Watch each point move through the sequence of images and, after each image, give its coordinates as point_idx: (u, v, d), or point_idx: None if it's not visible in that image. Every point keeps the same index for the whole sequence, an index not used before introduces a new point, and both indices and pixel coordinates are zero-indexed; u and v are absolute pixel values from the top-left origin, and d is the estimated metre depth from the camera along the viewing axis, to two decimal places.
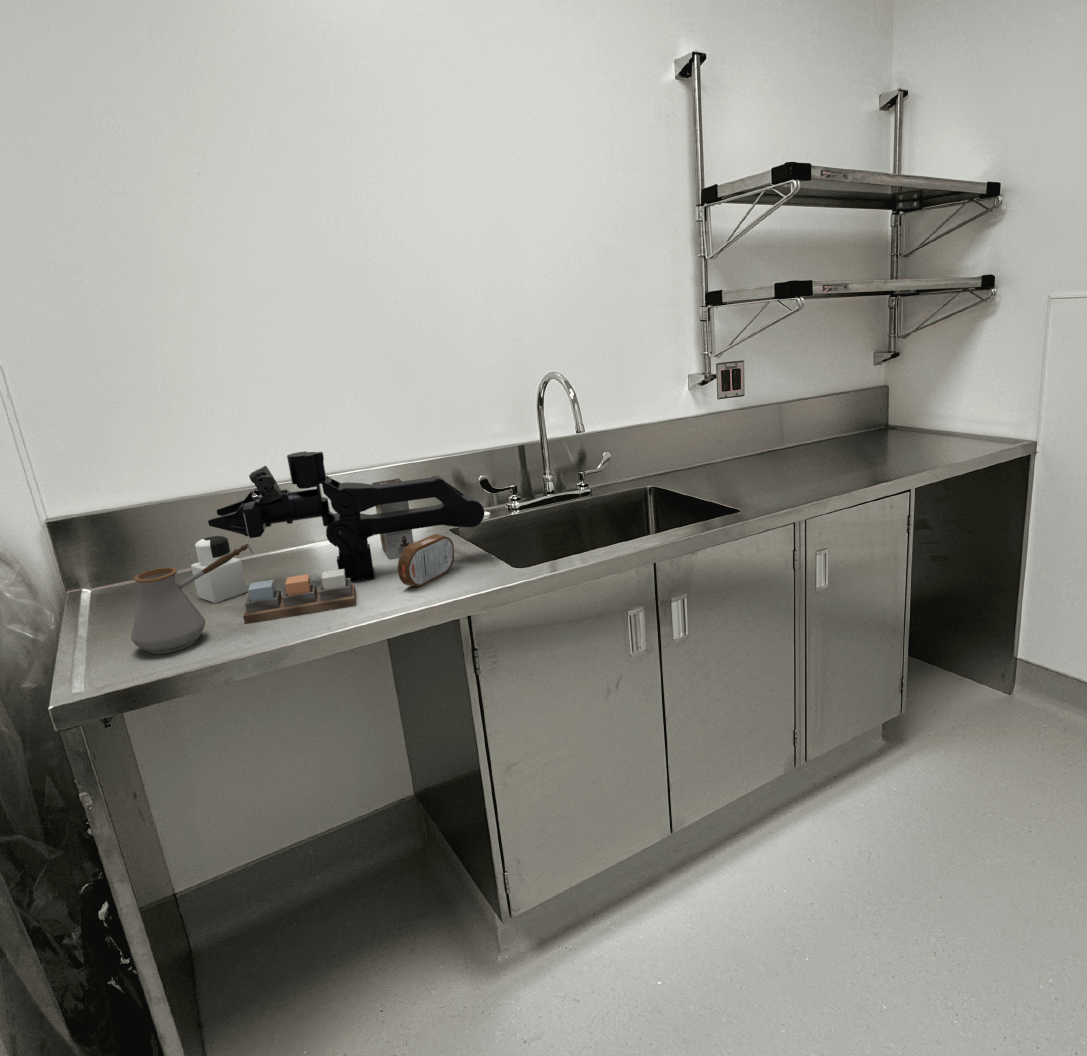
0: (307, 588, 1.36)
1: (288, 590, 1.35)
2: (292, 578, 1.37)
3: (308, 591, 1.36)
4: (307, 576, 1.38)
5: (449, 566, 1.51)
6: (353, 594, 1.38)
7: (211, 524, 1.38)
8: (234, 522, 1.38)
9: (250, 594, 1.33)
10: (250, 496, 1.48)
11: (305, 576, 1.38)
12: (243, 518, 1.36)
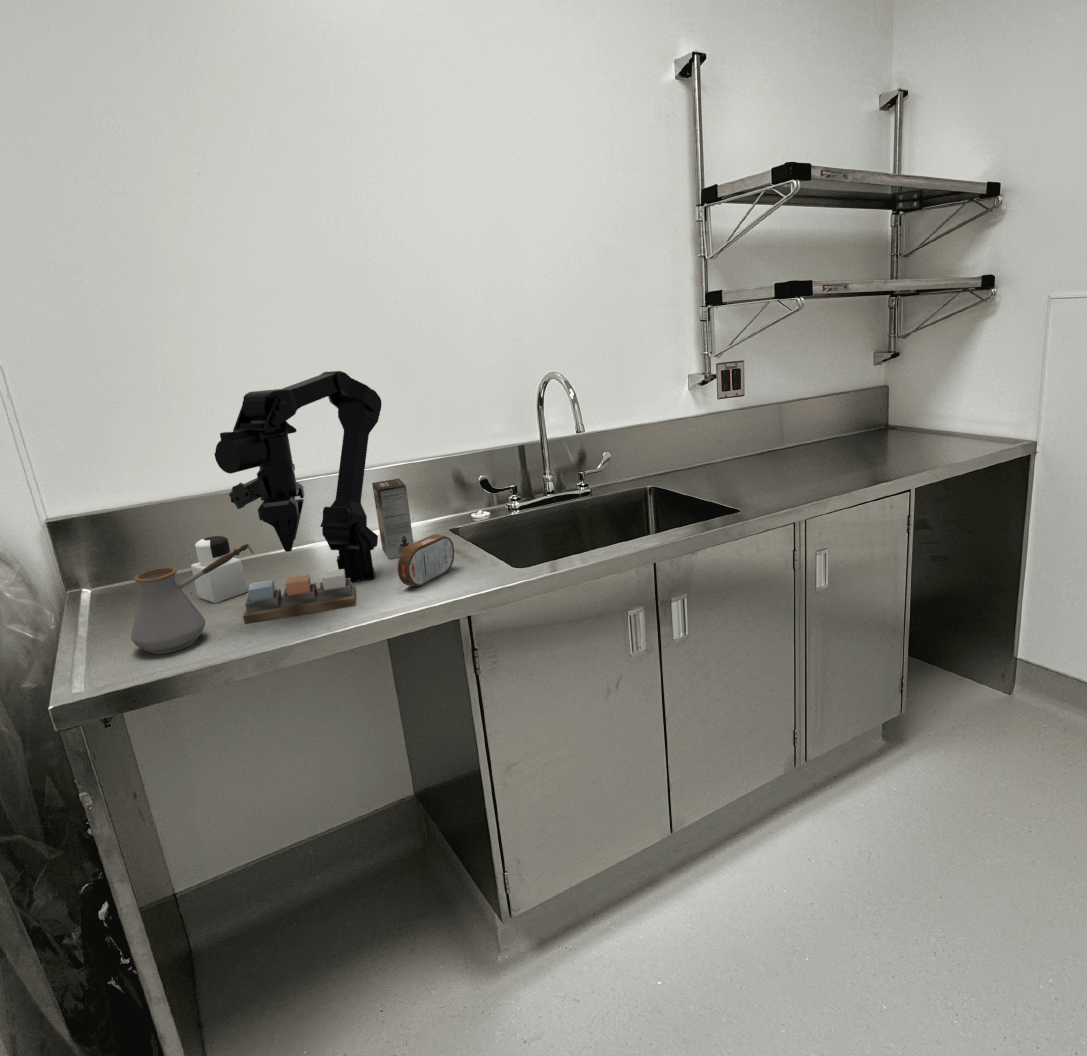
0: (307, 588, 1.36)
1: (288, 590, 1.35)
2: (292, 578, 1.37)
3: (308, 591, 1.36)
4: (307, 576, 1.38)
5: (449, 566, 1.51)
6: (353, 594, 1.38)
7: (289, 548, 1.31)
8: (285, 527, 1.29)
9: (250, 594, 1.33)
10: None
11: (305, 576, 1.38)
12: (275, 519, 1.26)
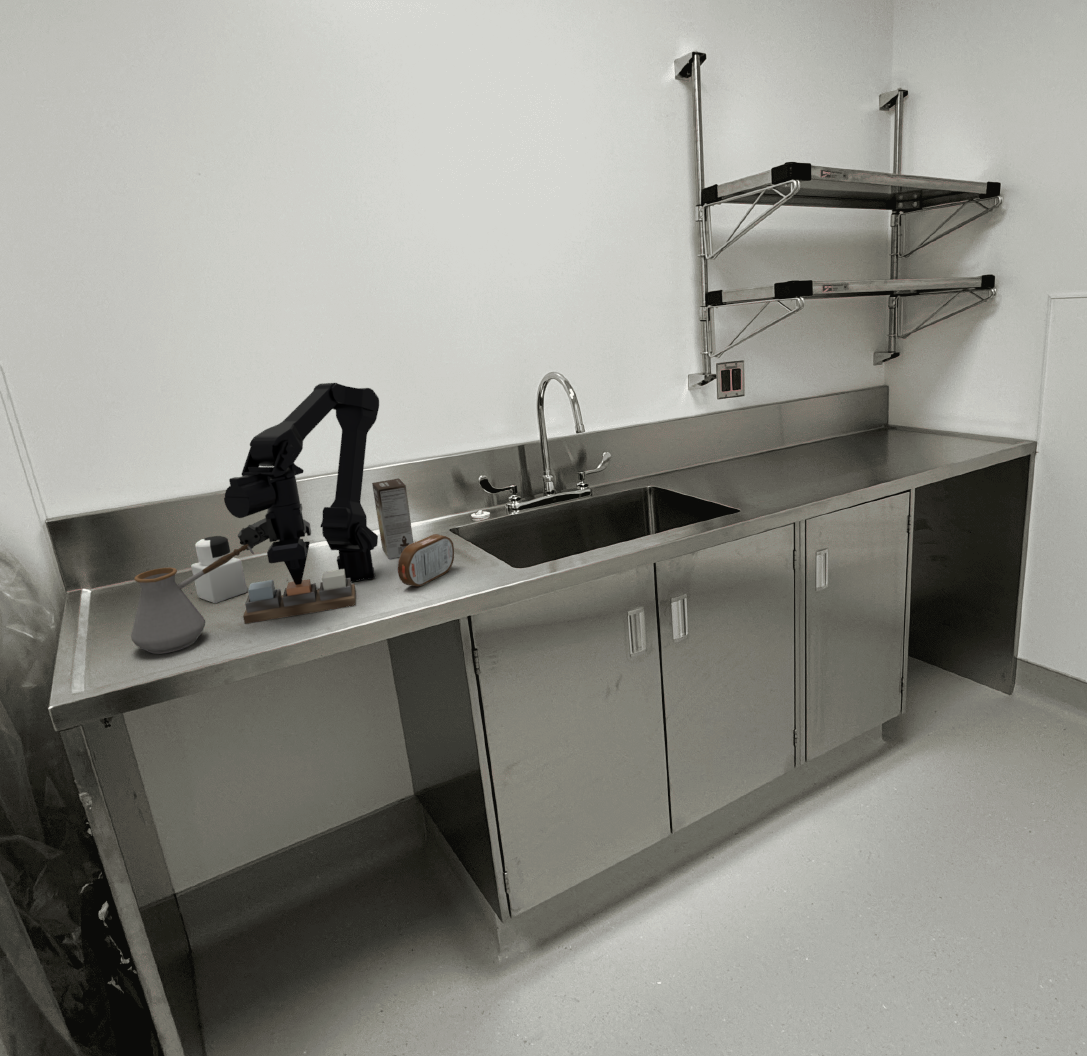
0: None
1: (289, 595, 1.35)
2: (293, 583, 1.38)
3: None
4: (308, 581, 1.38)
5: (449, 566, 1.51)
6: (353, 594, 1.38)
7: (299, 582, 1.36)
8: (295, 561, 1.34)
9: (250, 594, 1.33)
10: None
11: (306, 581, 1.38)
12: None
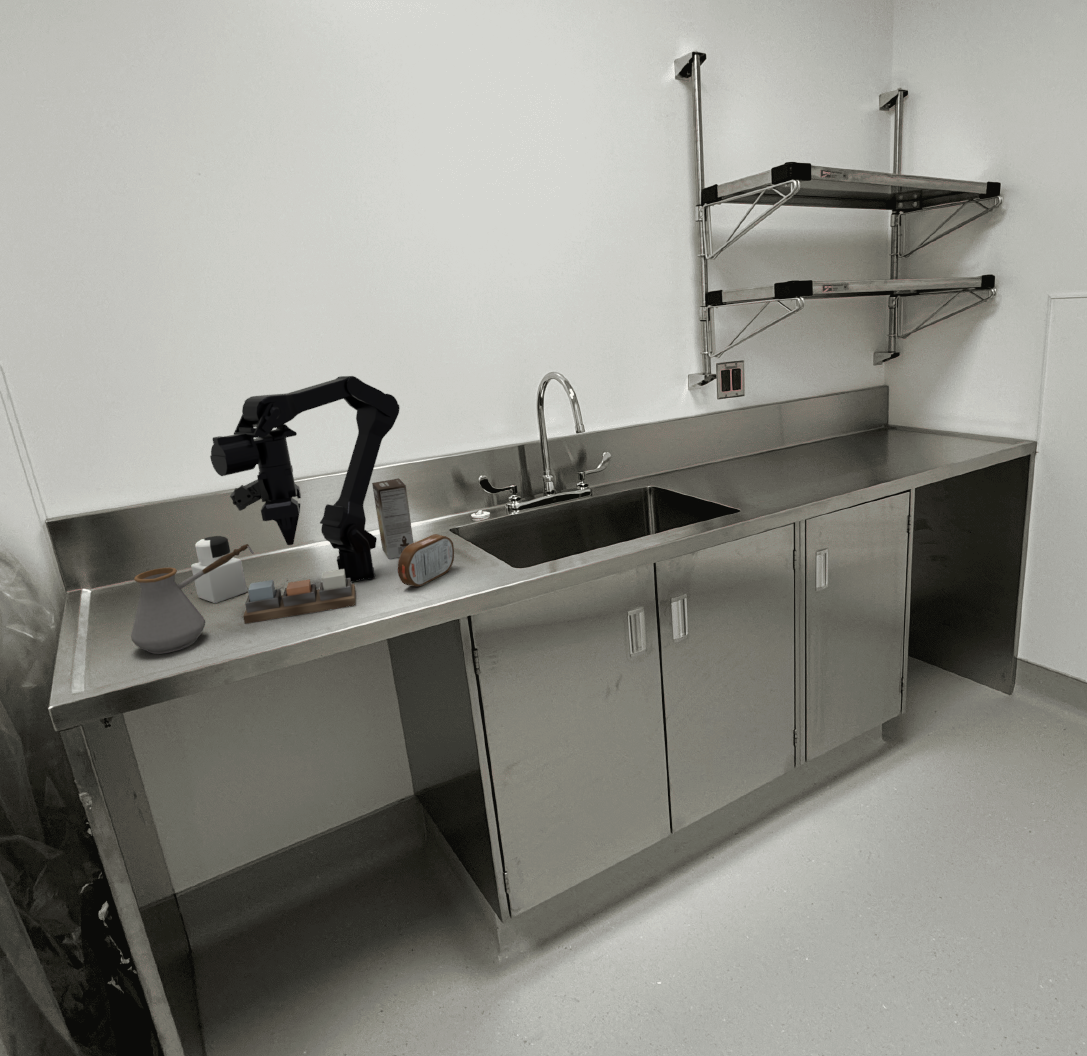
0: None
1: (289, 595, 1.35)
2: (293, 583, 1.38)
3: None
4: (308, 581, 1.38)
5: (449, 566, 1.51)
6: (353, 594, 1.38)
7: (291, 542, 1.39)
8: (287, 522, 1.37)
9: (250, 594, 1.33)
10: None
11: (306, 581, 1.38)
12: None
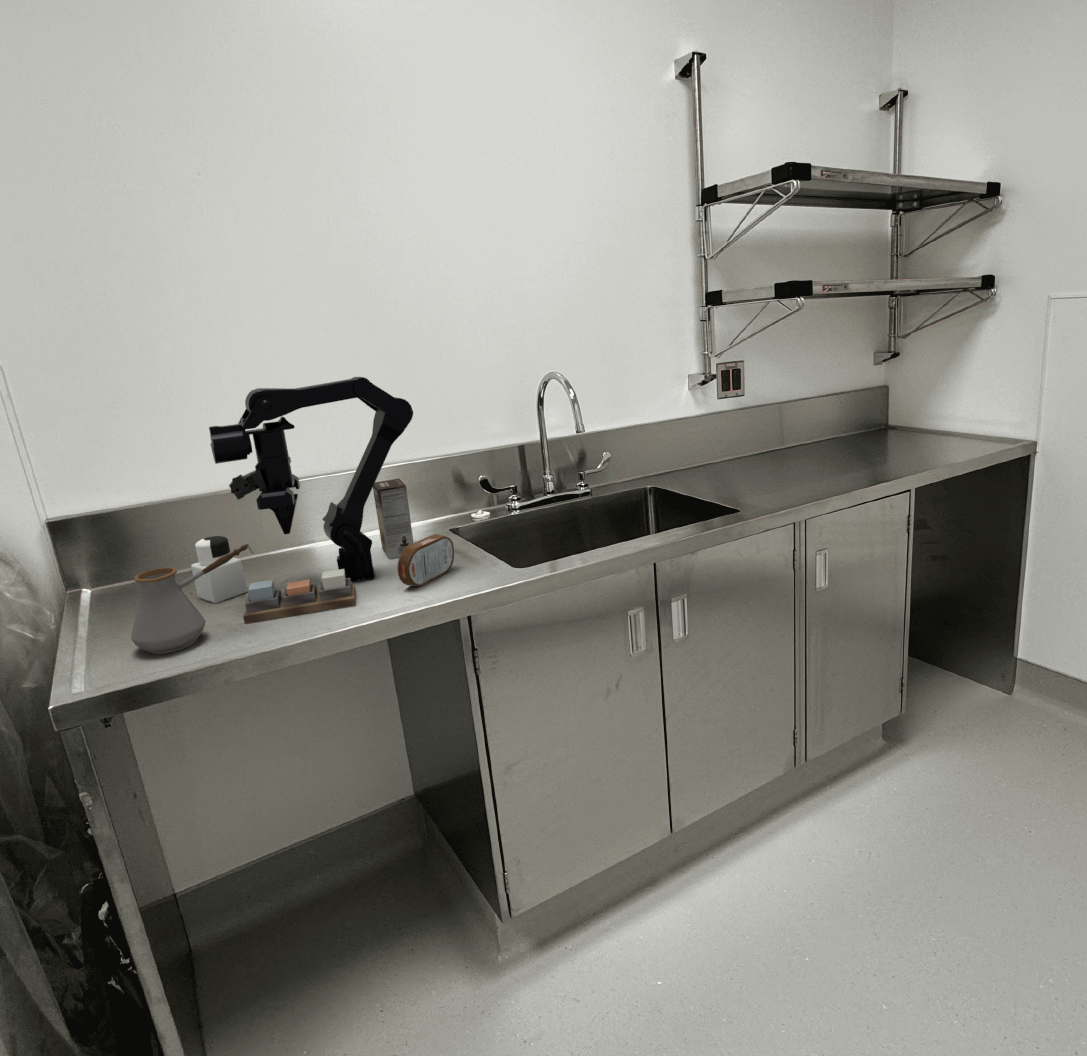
0: None
1: (289, 595, 1.35)
2: (293, 583, 1.38)
3: None
4: (308, 581, 1.38)
5: (449, 566, 1.51)
6: (353, 594, 1.38)
7: (288, 531, 1.43)
8: (284, 511, 1.41)
9: (250, 594, 1.33)
10: None
11: (306, 581, 1.38)
12: None
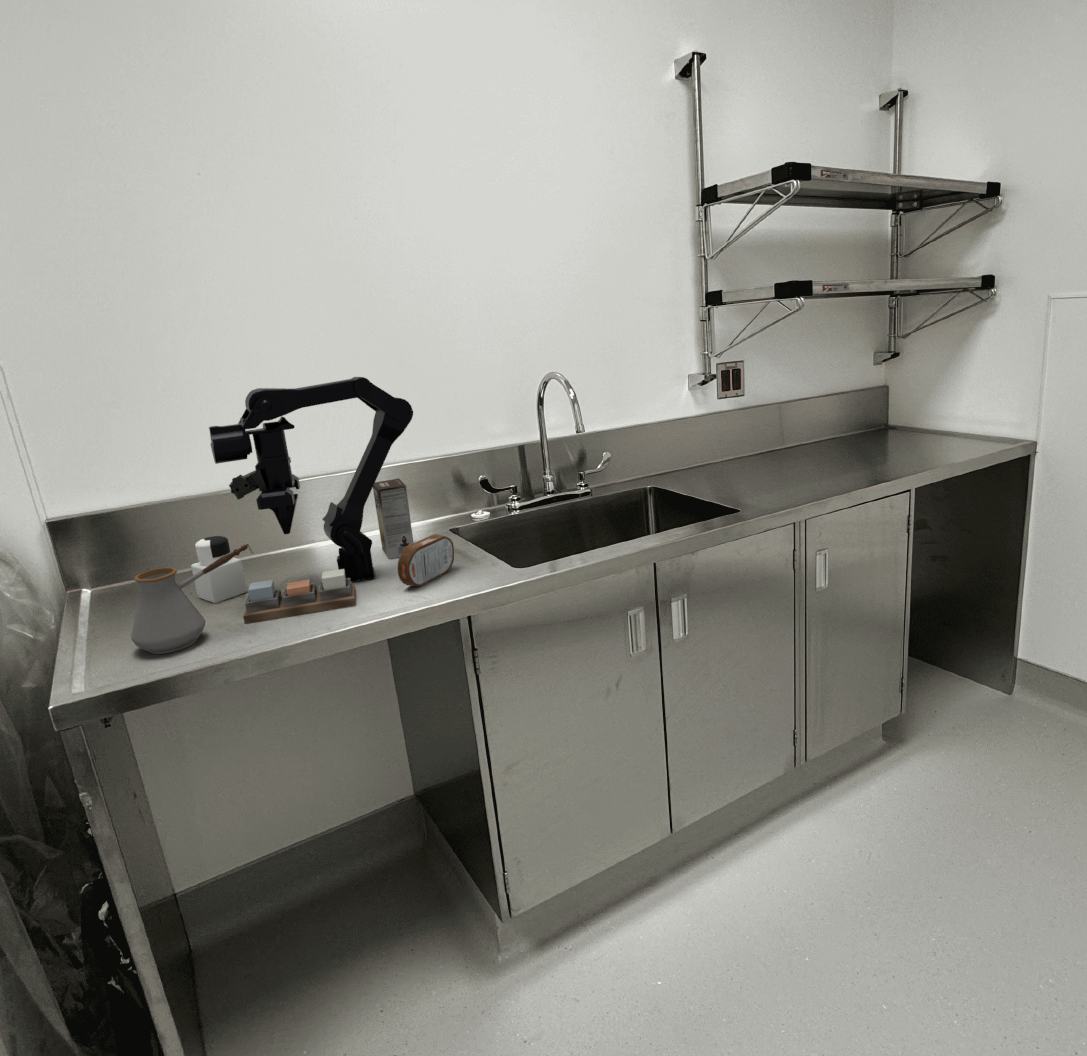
0: None
1: (289, 595, 1.35)
2: (293, 583, 1.38)
3: None
4: (308, 581, 1.38)
5: (449, 566, 1.51)
6: (353, 594, 1.38)
7: (288, 531, 1.43)
8: (284, 511, 1.41)
9: (250, 594, 1.33)
10: None
11: (306, 581, 1.38)
12: None
